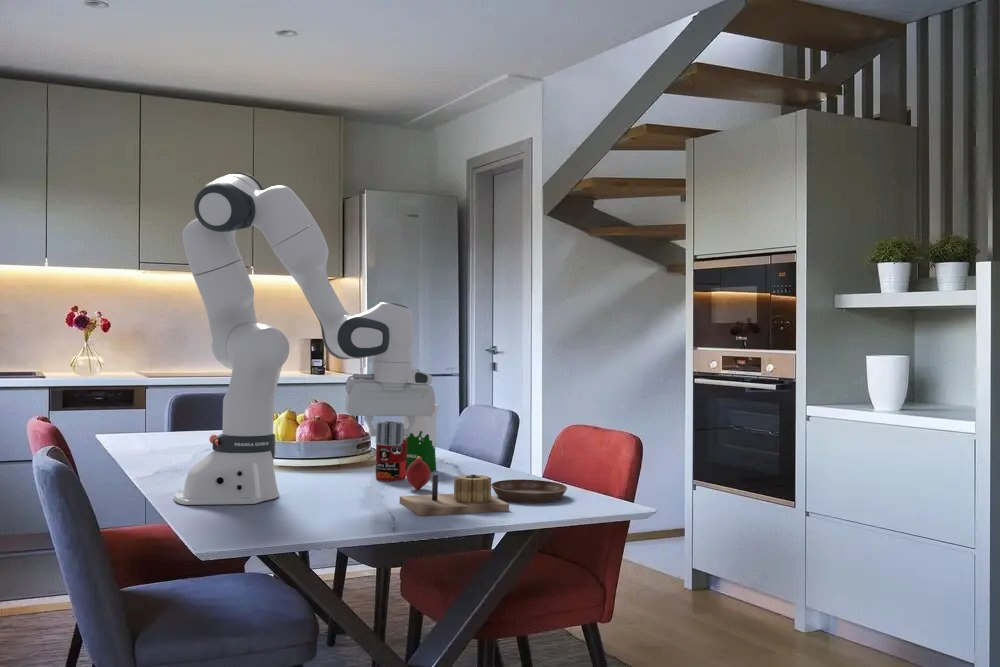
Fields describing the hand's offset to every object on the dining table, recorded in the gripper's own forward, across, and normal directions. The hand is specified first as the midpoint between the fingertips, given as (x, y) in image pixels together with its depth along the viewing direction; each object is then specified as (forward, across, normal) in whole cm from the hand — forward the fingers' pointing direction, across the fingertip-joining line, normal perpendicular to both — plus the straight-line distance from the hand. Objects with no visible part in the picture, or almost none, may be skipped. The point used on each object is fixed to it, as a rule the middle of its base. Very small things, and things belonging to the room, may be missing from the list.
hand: (389, 436), depth 217 cm
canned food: (+14, +9, +28) cm, 33 cm away
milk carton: (+14, +20, +40) cm, 47 cm away
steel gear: (+2, 0, 0) cm, 2 cm away
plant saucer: (+14, +33, -5) cm, 36 cm away
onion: (+14, +11, +11) cm, 21 cm away
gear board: (+14, +12, -12) cm, 22 cm away
